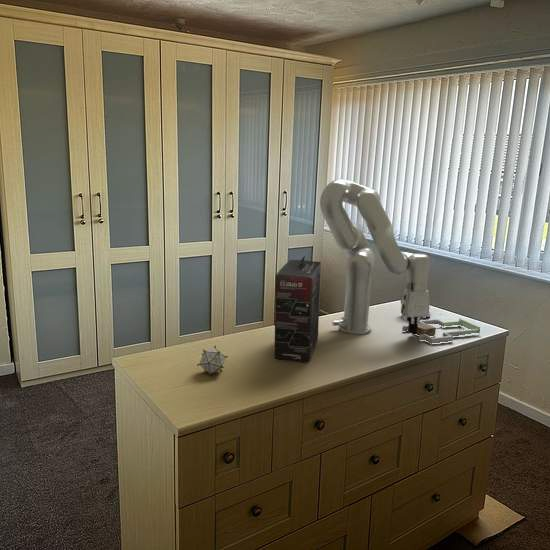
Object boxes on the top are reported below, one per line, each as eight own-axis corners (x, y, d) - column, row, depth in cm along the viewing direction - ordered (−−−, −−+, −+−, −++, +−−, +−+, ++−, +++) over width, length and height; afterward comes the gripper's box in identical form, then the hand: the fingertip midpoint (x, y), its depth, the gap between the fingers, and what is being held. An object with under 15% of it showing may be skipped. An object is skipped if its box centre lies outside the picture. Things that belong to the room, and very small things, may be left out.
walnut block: (422, 339, 196) (423, 329, 195) (412, 334, 201) (413, 324, 200) (434, 337, 199) (435, 327, 198) (424, 332, 204) (425, 323, 203)
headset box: (309, 364, 168) (314, 265, 160) (271, 360, 170) (275, 262, 163) (318, 339, 191) (323, 252, 184) (285, 336, 194) (288, 250, 186)
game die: (211, 381, 161) (216, 350, 165) (229, 379, 156) (235, 347, 160) (189, 373, 156) (195, 342, 160) (207, 371, 150) (213, 339, 154)
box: (426, 345, 189) (427, 336, 188) (396, 328, 207) (396, 320, 206) (486, 339, 198) (488, 330, 198) (453, 323, 216) (454, 315, 216)
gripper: (405, 290, 188) (401, 337, 192) (439, 287, 193) (434, 334, 197) (394, 285, 195) (390, 331, 199) (427, 283, 200) (423, 328, 204)
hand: (412, 332), depth 198 cm, fingers closed
